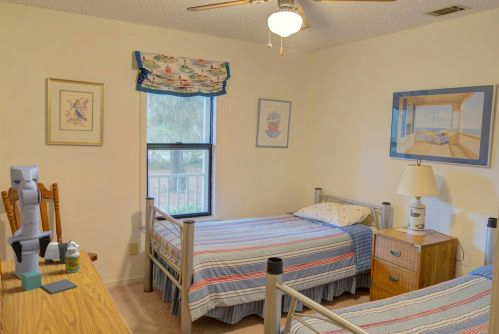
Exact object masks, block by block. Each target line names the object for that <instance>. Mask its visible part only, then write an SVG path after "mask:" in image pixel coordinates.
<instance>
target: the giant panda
mask: <svg viewBox="0 0 499 334" xmlns="http://www.w3.org/2000/svg"><path fill="white" fill-rule="evenodd" d="M69 247H78V250H79V249H80V248H81V245H79V244H77V243H76V242H75V241H72V240H71V239H69V241H68V242H58V241H52V242H50V243H49V245H48V247H47V249H46V253H45V257H44V258H43V259H44V263H45V265H52V264H53V262H54V260H59V261H60V262H59V263H60V264H61V265H62V264H63V265H64V264H65V265H66V258H65V255H66V254H67V253H68V252H67V248H69Z"/></svg>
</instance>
